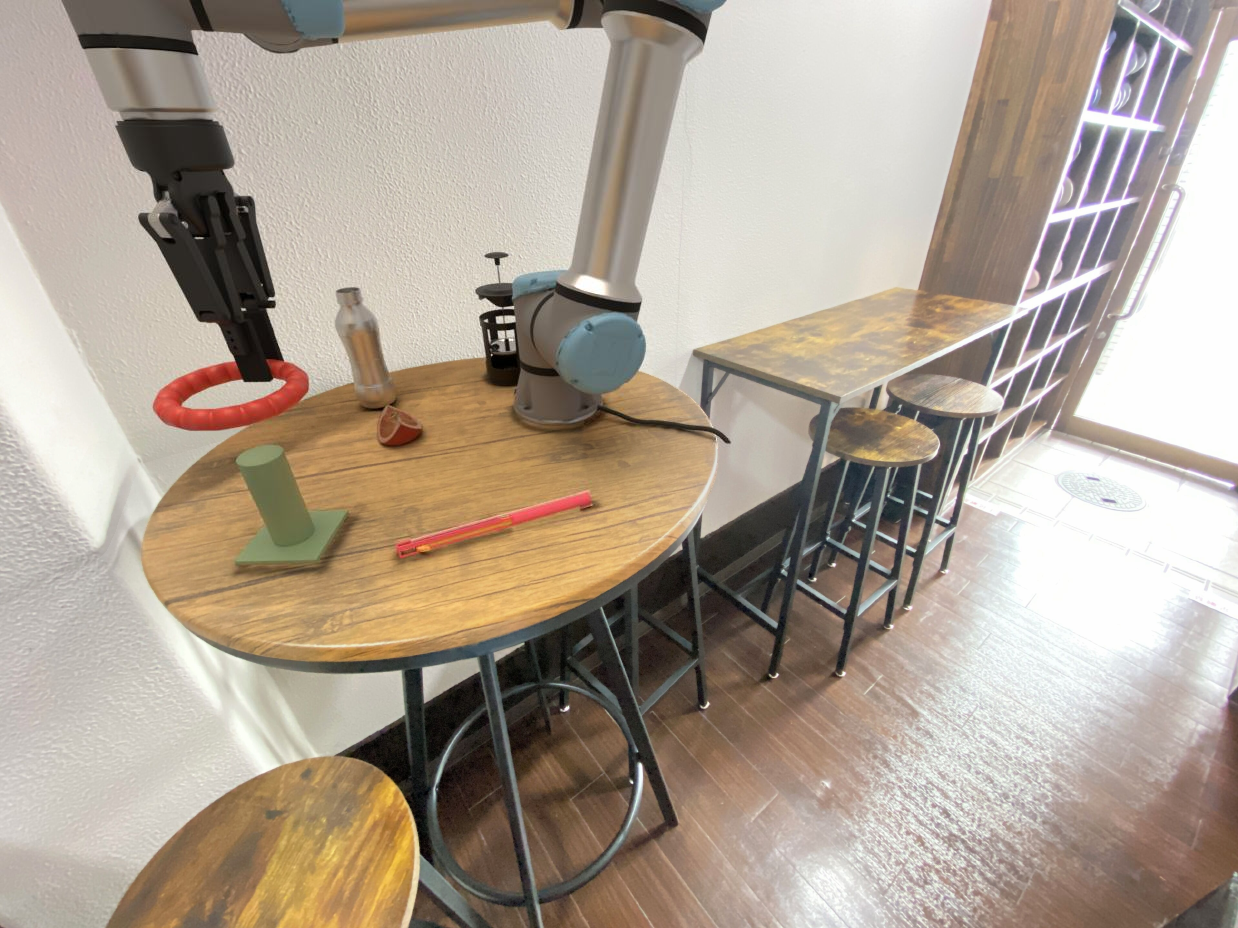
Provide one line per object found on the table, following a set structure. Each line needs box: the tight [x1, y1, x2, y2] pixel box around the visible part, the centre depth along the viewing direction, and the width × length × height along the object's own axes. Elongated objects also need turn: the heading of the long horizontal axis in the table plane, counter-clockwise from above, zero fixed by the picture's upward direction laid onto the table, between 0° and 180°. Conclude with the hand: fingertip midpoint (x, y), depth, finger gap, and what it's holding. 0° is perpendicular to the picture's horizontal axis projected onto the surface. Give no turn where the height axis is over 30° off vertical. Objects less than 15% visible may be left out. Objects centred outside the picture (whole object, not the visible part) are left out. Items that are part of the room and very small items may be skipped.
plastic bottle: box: [334, 286, 397, 409], centre depth 89 cm, size 6×7×20 cm
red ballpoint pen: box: [395, 489, 593, 559], centre depth 65 cm, size 24×2×5 cm
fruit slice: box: [376, 404, 424, 447], centre depth 83 cm, size 8×7×5 cm
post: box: [233, 444, 350, 566], centre depth 60 cm, size 9×9×12 cm
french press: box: [474, 251, 521, 387], centre depth 99 cm, size 12×9×23 cm
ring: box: [152, 359, 310, 432], centre depth 53 cm, size 13×13×2 cm
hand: (265, 374), depth 58 cm, fingers closed on ring, 2 cm apart
